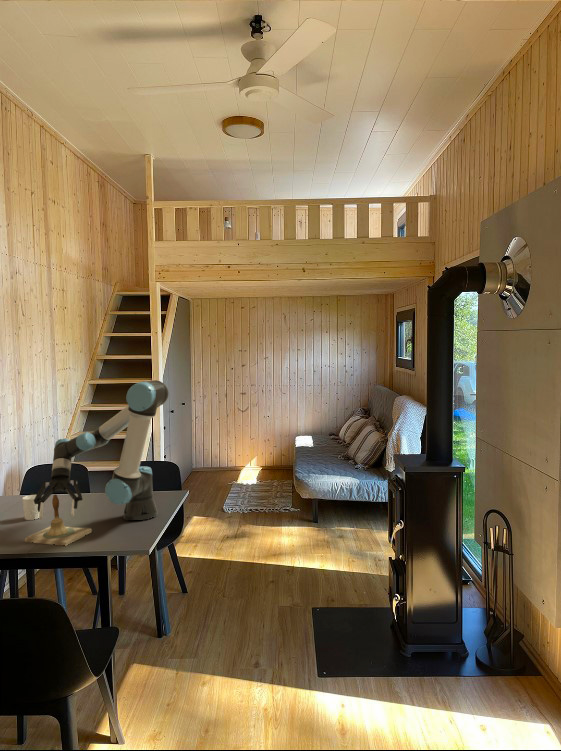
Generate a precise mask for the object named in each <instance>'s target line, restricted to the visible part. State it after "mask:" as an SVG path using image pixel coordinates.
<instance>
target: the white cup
mask: <svg viewBox="0 0 561 751" xmlns="http://www.w3.org/2000/svg"><path fill="white" fill-rule="evenodd" d="M36 495H37V494H30V495H26V496H25V495H24V496H23V497H22V508H23V515H24V520H25V519H26V520H25V521H35V520H39V519H40V518H39V513H40V512H38V509H37V508H38V504H35V503H34V499H35V497H36ZM38 518H39V519H38ZM34 519H35V520H34Z"/></svg>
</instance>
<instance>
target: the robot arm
mask: <svg viewBox="0 0 561 751" xmlns="http://www.w3.org/2000/svg"><path fill="white" fill-rule="evenodd" d="M125 396H126V397H125V399H126V403H127V406H126V407H124V408H123V409H121V410H120V411H119V412H118V413H116V414H115V415H114V416H113V417H111V418H109V419H108V420H107V421H106V422H104V423H103V424H102V425H100V426H99V427H98V428H96V429H95V430H93V431H91V432H89V431H86V432H83V433H80V434H79V435H77V436H75V437H73V438H71V439H69V438H60V439H57V441H56V442H55V443H54V448H53V458H52V468H51V476H50V480H49V482H48V481H47V482H46V481H45V480H44V481H42V482H41V483H42V484H41V487H40V488H39V490H38V492H37V494H35V495H36V497H35V499H34V503H35V504H38V508H37V509H38V512H40V513H39V520H41V521H42V520H43V515H44V507H45V502H46V501H47V500H48V499H49V498H50V496H51V495H53V494H54V493H55V492H64V491H65V492H66V493H67V494H68V495H69V496H70V497H71V499H72V500H71V512H70V513H71V517H72V518H73V517H75V509H78V503H79V501H83V495H82V493H81V491H80V488H79V486H78V480H77V478H74V479H73V480H71V468H72V459H73V458H74V457H77V456H78V455H80V454H82V453H84V452H85V453H86V452H88V451H92V450H94V449H97V448H101V447H104V446H105V445H107V444H108V443H109V442H110V440H112V439H113V438H114V437H115V436H117V435H118V434H119V433H121V432H122V431H123V430H125V429H126V433H125V437H124V442H123V446H122V450H121V455H120V459H119V463H118V466H117V467H116V468H114V469H113V473H112V478H111V479H109V481H108V482H107V483H106V484H105V488H104V489H105V495H106V497H107V499H108V500H109V501H110V502H111V503H112V504H114V505H118V506H119V505H121V506H122V505H124V504H125V507H124V510H123V519H124V518H125V519H127V520H126V521H128V520H143V519H148V518H151V517H154V516H156V515H157V514H158V508H157V506H156V505H157V504H156V502H155V500H154V491H153V490H154V487H153V486H154V485H153V470H152V468H151V467H150V466H147V465H146V466H142V465H141V463H142V461H141V460H142V458H143V452H144V449H145V444H146V440H147V436H148V432H149V428H150V424H151V421H152V420H151V419H153V418H154V417H155V416H156V414H157V411H158V408H160V407H161V406H162V405H164V404H165V403H166V402H167V401H168V398H169V389H168V386H167V385H166V384H165V383H164V382H162V381H160V380H149V381H140V382H137V383H135V384H132V386H130V388H128V390H127V393H126V395H125ZM70 485H72V486H74V489H75V492H76V495H77V496H76V495H75V493H74V492H73V491H72V489H71V488H70V487H69V486H70ZM47 488H48V489H47ZM46 489H47V491H46ZM157 516H158V515H157ZM157 516H156V517H157ZM154 518H155V517H154ZM125 519H124V520H125ZM148 520H149V519H148ZM143 521H144V520H143Z"/></svg>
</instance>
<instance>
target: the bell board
mask: <svg viewBox="0 0 561 751" xmlns="http://www.w3.org/2000/svg"><path fill="white" fill-rule="evenodd" d="M65 527H66V528H67V529H68V533H66V534H63V535H60V536H48V535H47V533H48V531H49V530H50V528H51V525H50V526H47V527H46V528H43V529H42V530H39V531H37V532H35V533H33V534H30V535H28V536H27V537H25V538H24V542H25V543H32V542H33V544H34V543H35V544H42V545H43V544H45V545H53V544H55V546H63V545H65V547H66V546H68V544H69V545H70V543H71V544H73V543H74V542H76V541H78V540H80V539H82V538H83V537H86V536H88V535H89V534H91V533H92V532H93V530H92V528H87V527H75V526H65ZM85 535H86V536H85ZM72 542H73V543H72Z"/></svg>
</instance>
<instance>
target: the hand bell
mask: <svg viewBox="0 0 561 751" xmlns="http://www.w3.org/2000/svg"><path fill="white" fill-rule="evenodd" d="M51 500H52V502H51V503H52V508H53V513H54V514H53V515H54V519H52V520H51V521H50V522H51V523H50V526H51V528H50V530H49V531H48V533H47V535H48V536H60V535H63V534H66V533H68V529H67V528H66V527H67V526H65V523H64V521H63V518H60V514H59V507H60V499H59V498H58V494H54V495H53V497H52V499H51Z"/></svg>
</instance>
